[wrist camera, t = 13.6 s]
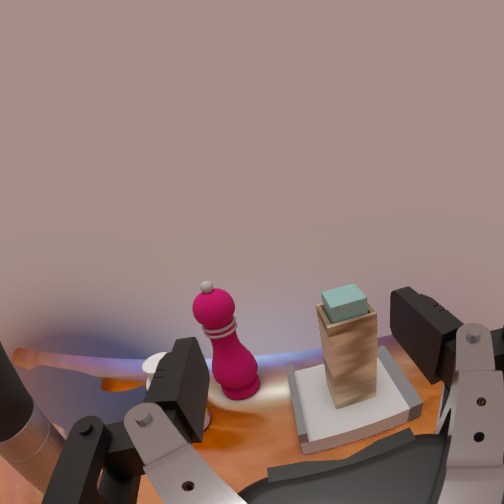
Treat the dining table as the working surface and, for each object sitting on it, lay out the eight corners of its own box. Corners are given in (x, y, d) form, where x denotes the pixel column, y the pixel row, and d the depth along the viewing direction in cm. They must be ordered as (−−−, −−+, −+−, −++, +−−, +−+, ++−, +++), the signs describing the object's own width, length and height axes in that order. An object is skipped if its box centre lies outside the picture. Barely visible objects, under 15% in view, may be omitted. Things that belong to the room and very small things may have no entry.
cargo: (333, 332, 28) (330, 307, 27) (324, 314, 32) (321, 292, 31) (368, 321, 28) (366, 297, 27) (356, 305, 31) (353, 283, 31)
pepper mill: (251, 368, 48) (220, 267, 42) (270, 389, 41) (238, 278, 36) (215, 385, 45) (175, 283, 40) (230, 408, 39) (186, 298, 33)
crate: (336, 409, 30) (327, 328, 27) (326, 382, 36) (315, 304, 32) (375, 396, 30) (376, 313, 26) (362, 372, 35) (358, 292, 32)
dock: (303, 454, 27) (298, 435, 26) (290, 386, 41) (285, 363, 39) (419, 416, 27) (425, 392, 25) (383, 359, 40) (383, 335, 39)
